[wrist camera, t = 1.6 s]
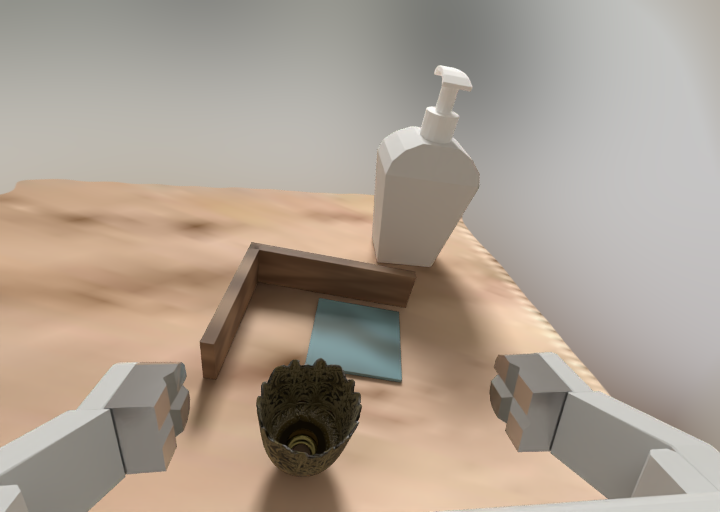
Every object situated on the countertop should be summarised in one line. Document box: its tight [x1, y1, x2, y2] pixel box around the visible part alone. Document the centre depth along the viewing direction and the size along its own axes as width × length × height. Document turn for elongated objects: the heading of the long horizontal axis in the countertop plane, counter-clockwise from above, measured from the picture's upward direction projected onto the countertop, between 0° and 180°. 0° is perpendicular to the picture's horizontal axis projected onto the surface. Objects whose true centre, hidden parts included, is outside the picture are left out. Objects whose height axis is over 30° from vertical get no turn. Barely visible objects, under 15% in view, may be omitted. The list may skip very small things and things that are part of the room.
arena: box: [200, 242, 416, 382], centre depth 41 cm, size 16×20×5 cm
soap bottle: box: [372, 65, 480, 267], centre depth 52 cm, size 12×10×26 cm
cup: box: [256, 358, 362, 477], centre depth 29 cm, size 8×7×8 cm
